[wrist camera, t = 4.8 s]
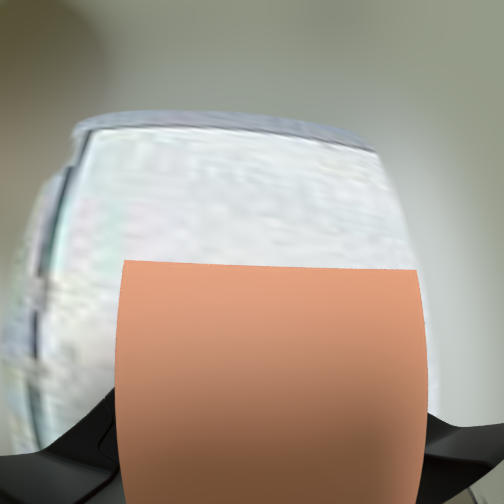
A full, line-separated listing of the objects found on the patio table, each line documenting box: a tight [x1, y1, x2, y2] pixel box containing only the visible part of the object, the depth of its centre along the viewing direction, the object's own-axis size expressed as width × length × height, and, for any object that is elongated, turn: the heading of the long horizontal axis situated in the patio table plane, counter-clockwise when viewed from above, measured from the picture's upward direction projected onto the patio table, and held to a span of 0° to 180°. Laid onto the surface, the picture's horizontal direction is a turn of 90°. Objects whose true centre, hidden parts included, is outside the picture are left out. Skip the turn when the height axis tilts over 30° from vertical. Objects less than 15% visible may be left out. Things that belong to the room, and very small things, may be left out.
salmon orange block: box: [115, 260, 428, 504], centre depth 8 cm, size 4×4×12 cm
